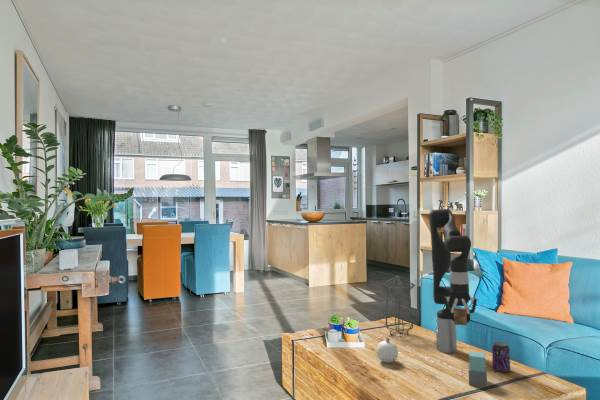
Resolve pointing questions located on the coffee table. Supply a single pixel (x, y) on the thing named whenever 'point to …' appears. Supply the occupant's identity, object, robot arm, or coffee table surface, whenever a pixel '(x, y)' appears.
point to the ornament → (387, 351)
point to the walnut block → (460, 316)
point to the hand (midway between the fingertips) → (460, 321)
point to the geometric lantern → (399, 303)
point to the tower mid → (477, 361)
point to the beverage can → (501, 357)
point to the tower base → (478, 378)
